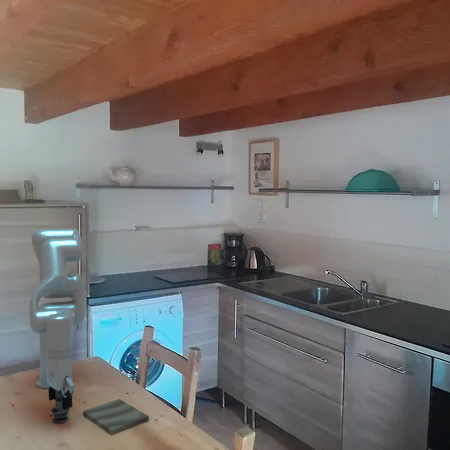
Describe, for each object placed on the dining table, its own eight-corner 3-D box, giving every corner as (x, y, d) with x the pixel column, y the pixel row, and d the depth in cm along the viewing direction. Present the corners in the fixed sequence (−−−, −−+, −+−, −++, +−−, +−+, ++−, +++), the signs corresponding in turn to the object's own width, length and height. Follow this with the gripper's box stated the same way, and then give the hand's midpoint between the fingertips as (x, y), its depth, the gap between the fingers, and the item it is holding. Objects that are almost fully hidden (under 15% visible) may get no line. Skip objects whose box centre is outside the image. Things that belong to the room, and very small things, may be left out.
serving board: (83, 415, 167) (82, 410, 166) (119, 402, 176) (119, 398, 176) (111, 435, 154) (111, 430, 154) (148, 420, 163) (148, 416, 163)
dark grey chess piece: (72, 415, 166) (71, 380, 165) (66, 424, 160) (66, 388, 159) (54, 415, 166) (53, 380, 165) (48, 424, 160) (47, 388, 159)
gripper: (36, 348, 165) (37, 399, 166) (60, 361, 152) (61, 415, 153) (58, 343, 170) (59, 392, 171) (83, 355, 158) (83, 408, 159)
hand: (60, 403), depth 162 cm, fingers open, 9 cm apart
